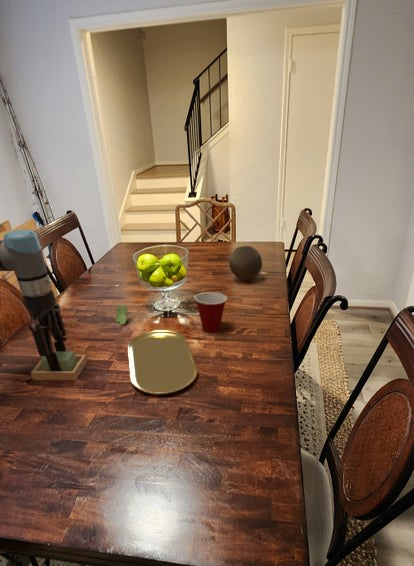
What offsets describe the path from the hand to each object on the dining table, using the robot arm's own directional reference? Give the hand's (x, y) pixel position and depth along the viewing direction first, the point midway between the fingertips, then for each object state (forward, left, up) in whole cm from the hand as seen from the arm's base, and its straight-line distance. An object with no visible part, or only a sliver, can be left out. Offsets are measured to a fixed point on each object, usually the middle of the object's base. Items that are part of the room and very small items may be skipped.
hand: (60, 366), depth 108 cm
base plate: (0, 0, -2) cm, 2 cm away
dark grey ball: (+55, +72, -2) cm, 91 cm away
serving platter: (+29, +5, -2) cm, 29 cm away
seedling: (+13, +36, -1) cm, 38 cm away
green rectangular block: (0, 0, 0) cm, 0 cm away
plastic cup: (+43, +26, -2) cm, 50 cm away
